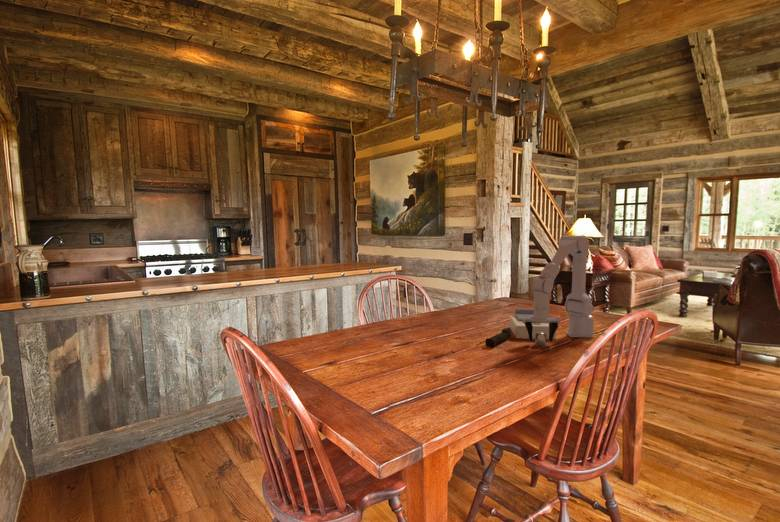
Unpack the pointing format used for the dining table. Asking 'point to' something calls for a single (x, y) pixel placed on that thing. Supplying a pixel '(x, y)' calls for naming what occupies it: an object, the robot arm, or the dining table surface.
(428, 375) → the dining table surface
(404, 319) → the dining table surface
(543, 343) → the peg
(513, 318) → the housing
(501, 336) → the hand tool
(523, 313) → the cover
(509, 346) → the dining table surface
